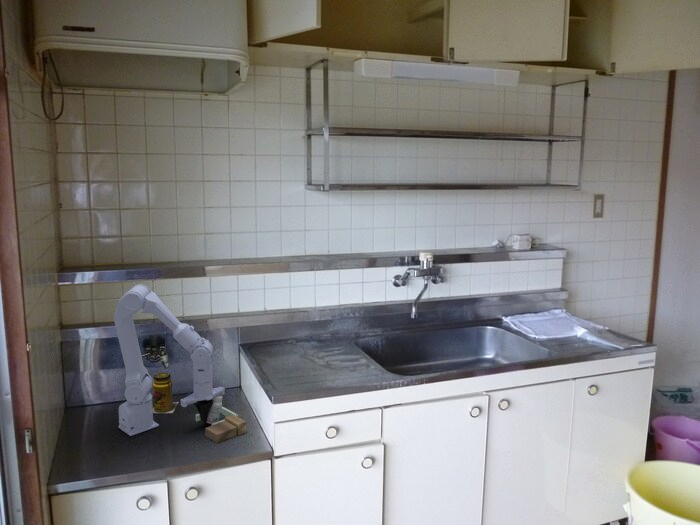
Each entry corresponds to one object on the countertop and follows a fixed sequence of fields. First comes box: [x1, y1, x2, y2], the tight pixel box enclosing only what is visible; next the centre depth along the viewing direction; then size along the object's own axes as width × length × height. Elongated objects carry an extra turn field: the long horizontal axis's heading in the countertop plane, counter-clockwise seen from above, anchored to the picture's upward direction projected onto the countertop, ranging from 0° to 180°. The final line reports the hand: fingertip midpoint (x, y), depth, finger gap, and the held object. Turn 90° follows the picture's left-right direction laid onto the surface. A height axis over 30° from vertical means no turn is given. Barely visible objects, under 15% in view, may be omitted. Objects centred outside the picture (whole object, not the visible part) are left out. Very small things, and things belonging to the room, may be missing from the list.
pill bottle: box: [206, 394, 223, 425], centre depth 186 cm, size 5×5×8 cm
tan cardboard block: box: [204, 421, 238, 444], centre depth 178 cm, size 7×6×3 cm
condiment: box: [152, 372, 180, 414], centre depth 195 cm, size 7×8×12 cm
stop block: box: [224, 414, 247, 436], centre depth 182 cm, size 3×7×4 cm, turn 47°
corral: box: [195, 406, 240, 426], centre depth 188 cm, size 10×10×2 cm
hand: (203, 421), depth 184 cm, fingers closed, pressing on pill bottle
